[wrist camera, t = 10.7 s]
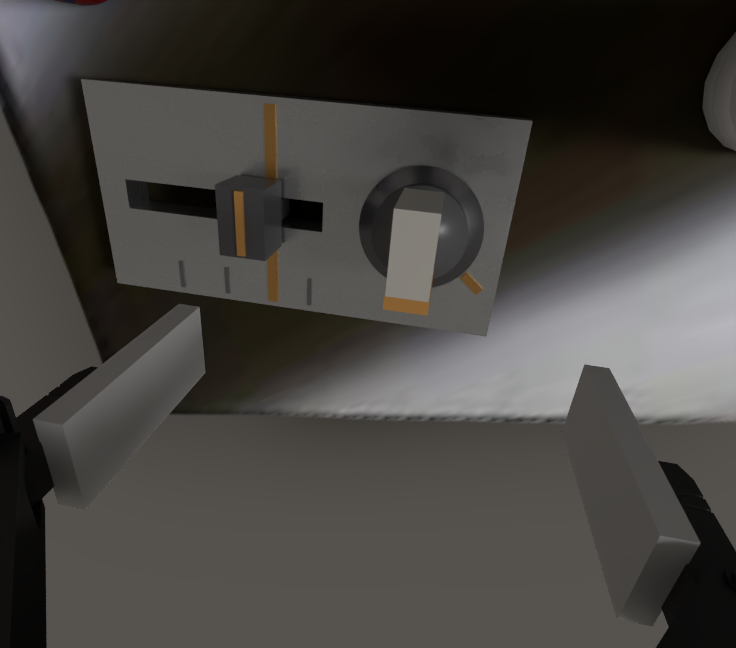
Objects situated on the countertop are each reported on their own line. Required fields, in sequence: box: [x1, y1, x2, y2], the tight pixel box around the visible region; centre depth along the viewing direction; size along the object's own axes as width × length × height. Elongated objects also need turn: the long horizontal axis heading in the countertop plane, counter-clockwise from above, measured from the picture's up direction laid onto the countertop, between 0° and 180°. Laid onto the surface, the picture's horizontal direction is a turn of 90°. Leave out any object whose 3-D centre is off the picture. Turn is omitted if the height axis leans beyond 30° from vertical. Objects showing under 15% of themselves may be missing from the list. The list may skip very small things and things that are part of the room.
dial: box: [371, 183, 468, 316], centre depth 28 cm, size 6×6×6 cm
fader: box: [215, 175, 290, 261], centre depth 32 cm, size 4×3×6 cm
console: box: [81, 79, 533, 336], centre depth 33 cm, size 14×28×3 cm, turn 86°
